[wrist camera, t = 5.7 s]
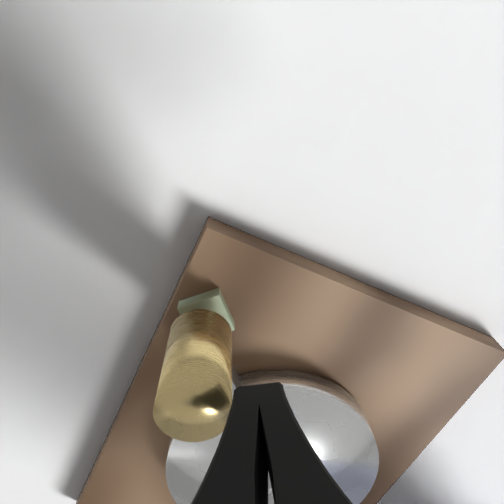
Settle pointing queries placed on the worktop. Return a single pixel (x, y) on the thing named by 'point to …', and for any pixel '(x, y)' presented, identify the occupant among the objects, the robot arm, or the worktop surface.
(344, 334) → the brown flat rectangular slab
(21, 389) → the worktop surface
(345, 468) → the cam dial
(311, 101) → the worktop surface
